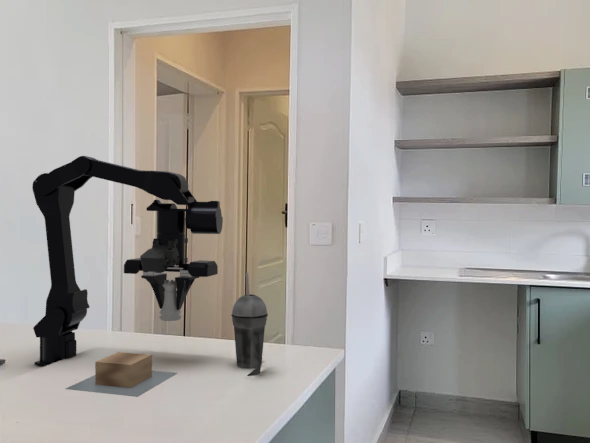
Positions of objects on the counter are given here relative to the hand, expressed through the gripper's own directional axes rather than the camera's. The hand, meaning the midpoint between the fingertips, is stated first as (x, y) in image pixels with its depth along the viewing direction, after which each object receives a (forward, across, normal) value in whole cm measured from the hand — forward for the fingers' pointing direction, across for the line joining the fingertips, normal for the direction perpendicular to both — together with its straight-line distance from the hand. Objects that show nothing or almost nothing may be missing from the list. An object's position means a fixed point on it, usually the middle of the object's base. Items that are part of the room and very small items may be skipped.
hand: (170, 309), depth 112 cm
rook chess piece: (+2, 0, 0) cm, 2 cm away
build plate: (+12, -1, -15) cm, 19 cm away
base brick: (+10, -1, -15) cm, 19 cm away
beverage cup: (+12, +17, +1) cm, 21 cm away
